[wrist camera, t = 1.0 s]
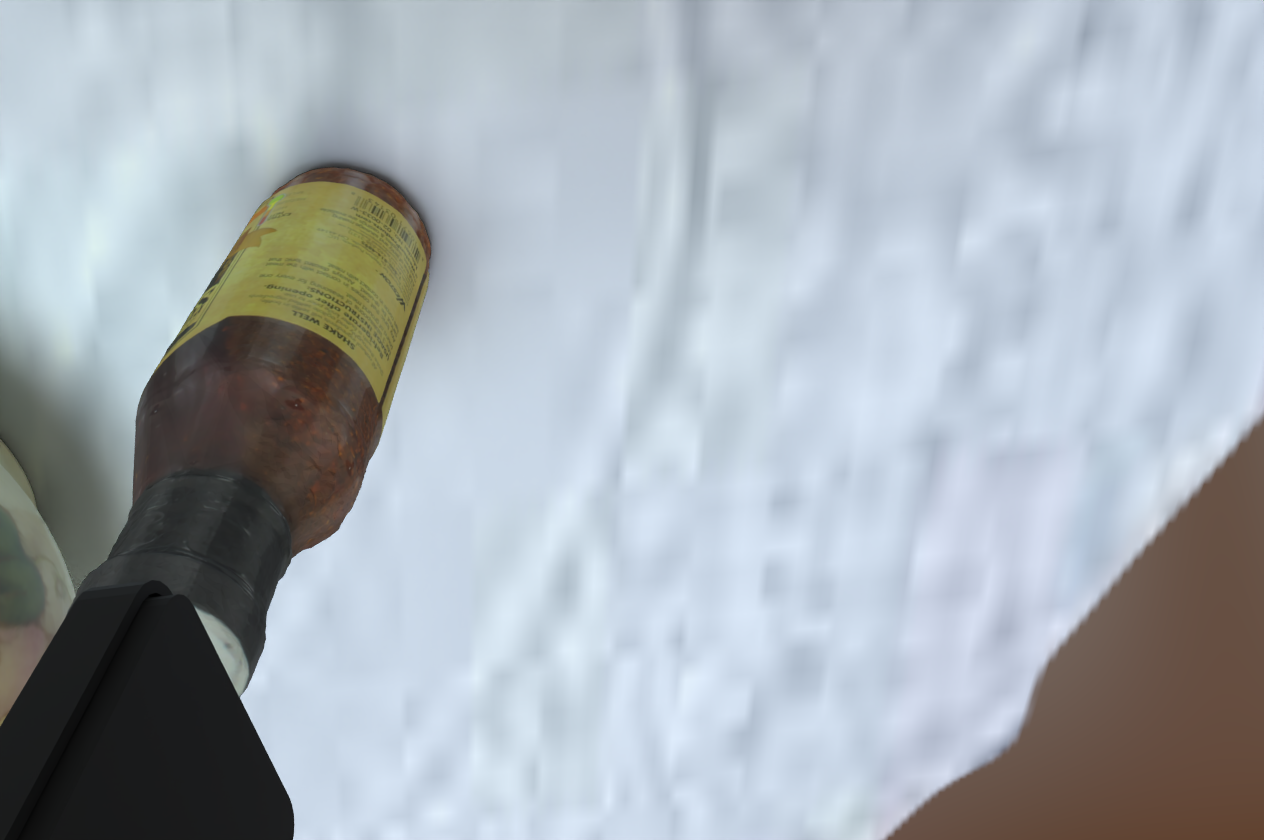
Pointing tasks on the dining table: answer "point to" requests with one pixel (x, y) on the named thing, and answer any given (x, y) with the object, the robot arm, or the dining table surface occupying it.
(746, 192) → the dining table surface
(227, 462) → the sauce bottle
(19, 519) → the pitcher
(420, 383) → the dining table surface
